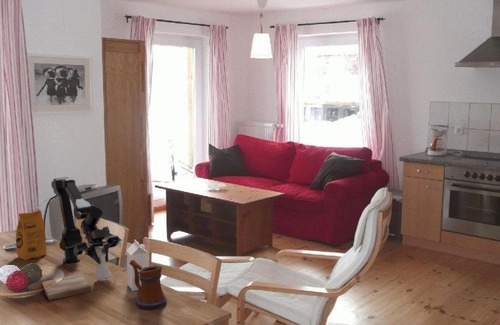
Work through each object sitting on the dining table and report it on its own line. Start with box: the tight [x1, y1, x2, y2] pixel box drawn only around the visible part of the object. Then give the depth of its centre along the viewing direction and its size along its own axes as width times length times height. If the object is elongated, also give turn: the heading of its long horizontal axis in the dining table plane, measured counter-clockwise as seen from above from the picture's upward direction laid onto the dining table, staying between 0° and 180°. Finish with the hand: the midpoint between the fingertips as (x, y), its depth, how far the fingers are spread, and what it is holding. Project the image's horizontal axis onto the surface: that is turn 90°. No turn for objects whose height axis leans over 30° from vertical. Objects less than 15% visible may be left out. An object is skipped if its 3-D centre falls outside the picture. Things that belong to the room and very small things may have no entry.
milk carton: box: [126, 239, 150, 292], centre depth 213 cm, size 7×7×19 cm
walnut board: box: [44, 273, 92, 301], centre depth 213 cm, size 16×16×2 cm
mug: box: [129, 260, 168, 310], centre depth 200 cm, size 18×12×15 cm, turn 47°
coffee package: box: [15, 209, 47, 261], centre depth 250 cm, size 10×12×22 cm
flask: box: [93, 252, 112, 281], centre depth 219 cm, size 7×7×10 cm
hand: (103, 262), depth 218 cm, fingers closed on flask, 3 cm apart
